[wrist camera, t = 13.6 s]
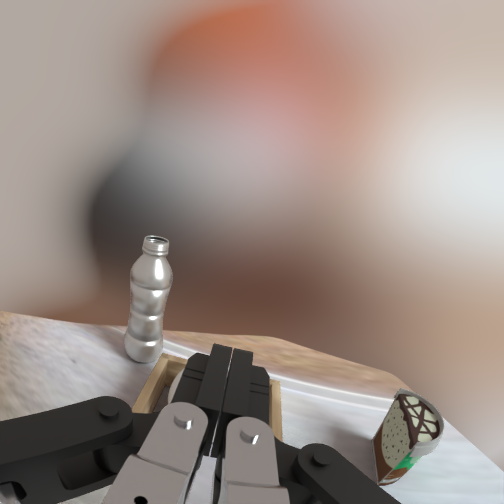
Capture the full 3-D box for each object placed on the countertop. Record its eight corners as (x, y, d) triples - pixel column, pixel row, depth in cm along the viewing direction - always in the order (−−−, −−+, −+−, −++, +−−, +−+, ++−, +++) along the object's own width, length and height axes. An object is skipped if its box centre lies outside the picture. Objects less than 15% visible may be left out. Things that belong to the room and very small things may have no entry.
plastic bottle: (157, 344, 53) (173, 235, 48) (165, 368, 47) (184, 249, 42) (121, 343, 50) (132, 230, 45) (125, 368, 44) (137, 244, 39)
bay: (270, 405, 45) (280, 381, 43) (270, 476, 31) (282, 454, 30) (159, 378, 44) (162, 352, 43) (128, 442, 31) (127, 416, 29)
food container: (416, 495, 28) (458, 447, 26) (377, 493, 29) (418, 445, 26) (403, 438, 40) (433, 392, 38) (370, 434, 41) (399, 386, 38)
